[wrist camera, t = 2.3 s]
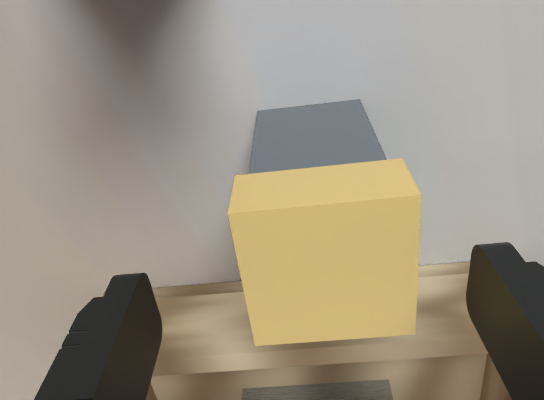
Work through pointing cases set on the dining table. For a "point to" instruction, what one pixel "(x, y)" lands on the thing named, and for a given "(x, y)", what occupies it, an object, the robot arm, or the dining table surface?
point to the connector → (325, 229)
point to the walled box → (321, 348)
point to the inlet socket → (324, 391)
